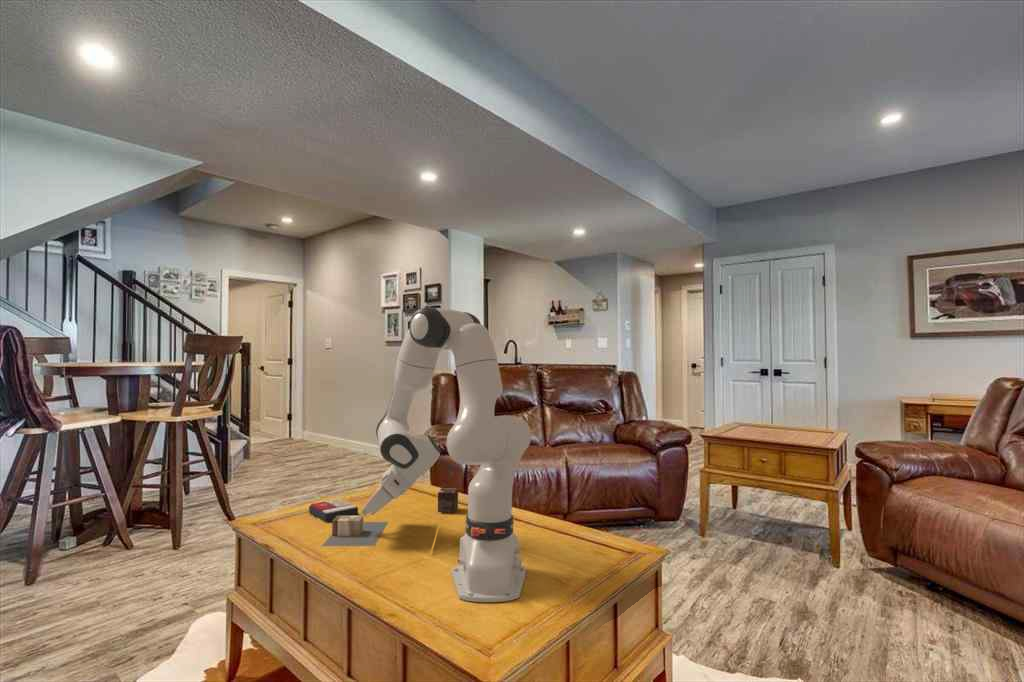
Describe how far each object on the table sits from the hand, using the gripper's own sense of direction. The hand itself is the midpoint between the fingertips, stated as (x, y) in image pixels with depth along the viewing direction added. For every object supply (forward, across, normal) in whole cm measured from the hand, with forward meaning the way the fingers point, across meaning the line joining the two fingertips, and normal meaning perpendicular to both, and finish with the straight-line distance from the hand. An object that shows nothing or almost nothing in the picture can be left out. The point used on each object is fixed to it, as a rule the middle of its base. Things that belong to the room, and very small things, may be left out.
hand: (363, 512), depth 153 cm
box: (-12, -23, +22) cm, 34 cm away
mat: (+6, 0, +3) cm, 7 cm away
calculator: (+15, -19, -5) cm, 25 cm away
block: (+3, 0, +2) cm, 4 cm away
